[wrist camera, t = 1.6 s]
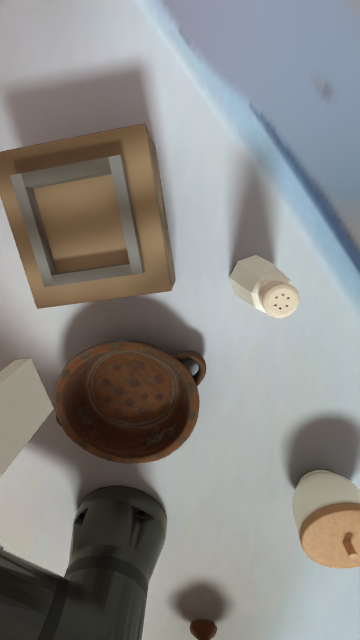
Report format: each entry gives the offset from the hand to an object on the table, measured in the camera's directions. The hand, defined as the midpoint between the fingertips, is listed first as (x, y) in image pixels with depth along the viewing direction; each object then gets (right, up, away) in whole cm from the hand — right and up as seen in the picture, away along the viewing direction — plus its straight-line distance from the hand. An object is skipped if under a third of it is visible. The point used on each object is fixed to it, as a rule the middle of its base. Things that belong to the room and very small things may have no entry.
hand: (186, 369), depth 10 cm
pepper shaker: (+8, +7, +20) cm, 23 cm away
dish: (-7, -7, +26) cm, 28 cm away
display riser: (-9, +12, +19) cm, 25 cm away
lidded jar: (+21, -23, +30) cm, 43 cm away
